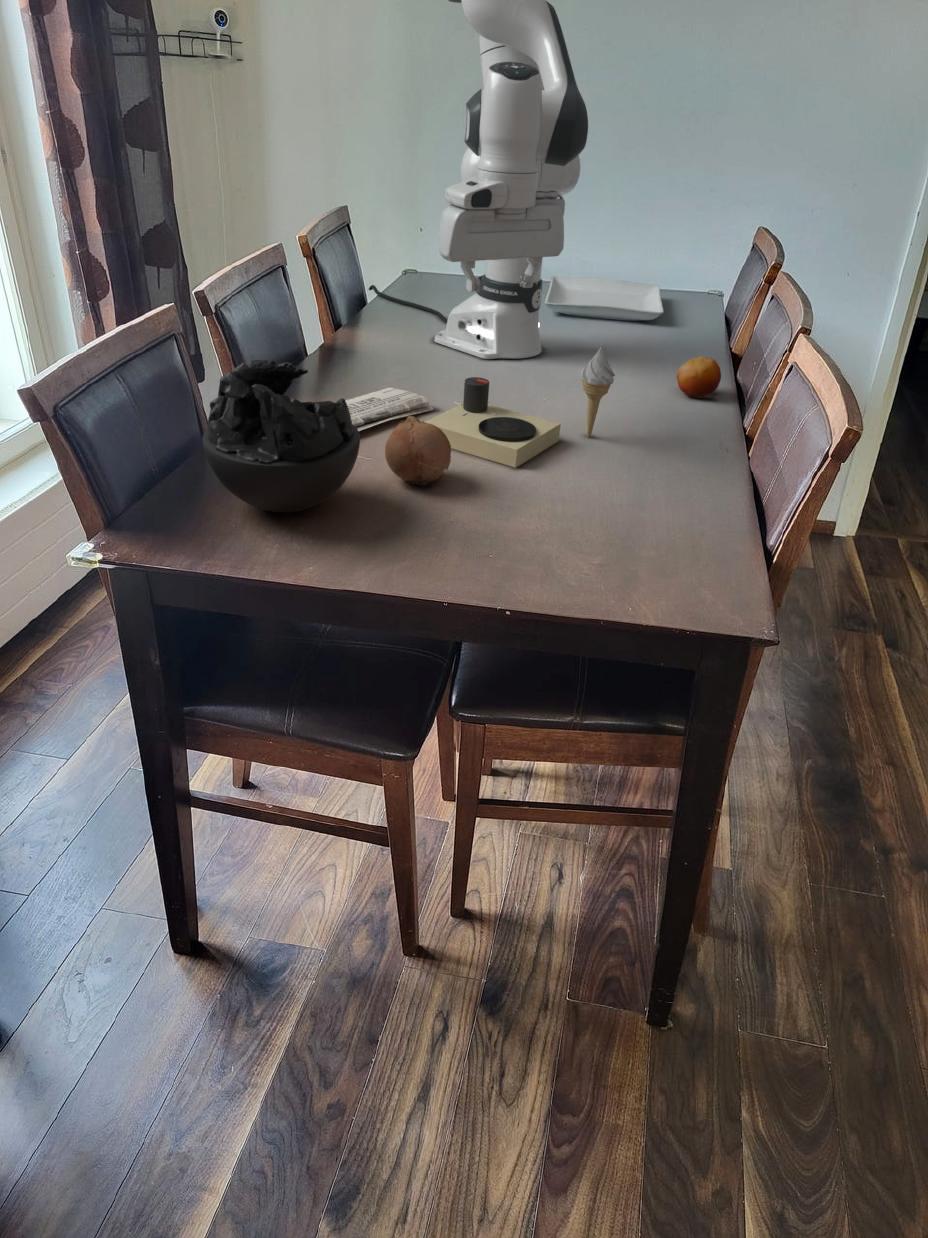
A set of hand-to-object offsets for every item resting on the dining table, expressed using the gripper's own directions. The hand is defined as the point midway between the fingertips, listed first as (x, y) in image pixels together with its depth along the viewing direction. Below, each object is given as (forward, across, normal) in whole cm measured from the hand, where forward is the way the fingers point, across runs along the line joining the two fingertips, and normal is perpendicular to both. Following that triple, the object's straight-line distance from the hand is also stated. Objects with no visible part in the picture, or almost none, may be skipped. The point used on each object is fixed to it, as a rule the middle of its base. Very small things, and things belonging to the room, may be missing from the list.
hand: (499, 288), depth 144 cm
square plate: (+21, -64, -59) cm, 89 cm away
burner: (+19, +3, +11) cm, 22 cm away
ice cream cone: (+22, -12, +11) cm, 28 cm away
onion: (+22, +21, +16) cm, 35 cm away
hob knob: (+19, +3, 0) cm, 19 cm away
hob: (+22, +4, +7) cm, 23 cm away
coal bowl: (+22, +41, +18) cm, 50 cm away
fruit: (+22, -44, 0) cm, 49 cm away
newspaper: (+22, +19, -9) cm, 30 cm away
